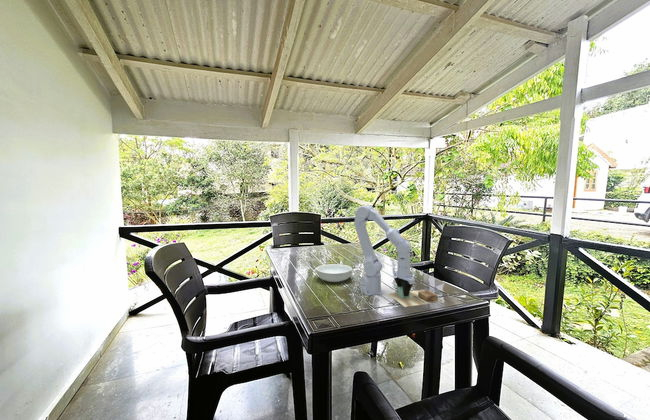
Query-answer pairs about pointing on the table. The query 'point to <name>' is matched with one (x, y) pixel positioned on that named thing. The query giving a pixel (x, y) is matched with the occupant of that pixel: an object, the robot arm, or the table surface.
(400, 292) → the teal block
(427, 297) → the walnut slab
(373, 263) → the robot arm
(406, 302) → the build board
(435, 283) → the table surface
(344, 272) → the serving bowl
